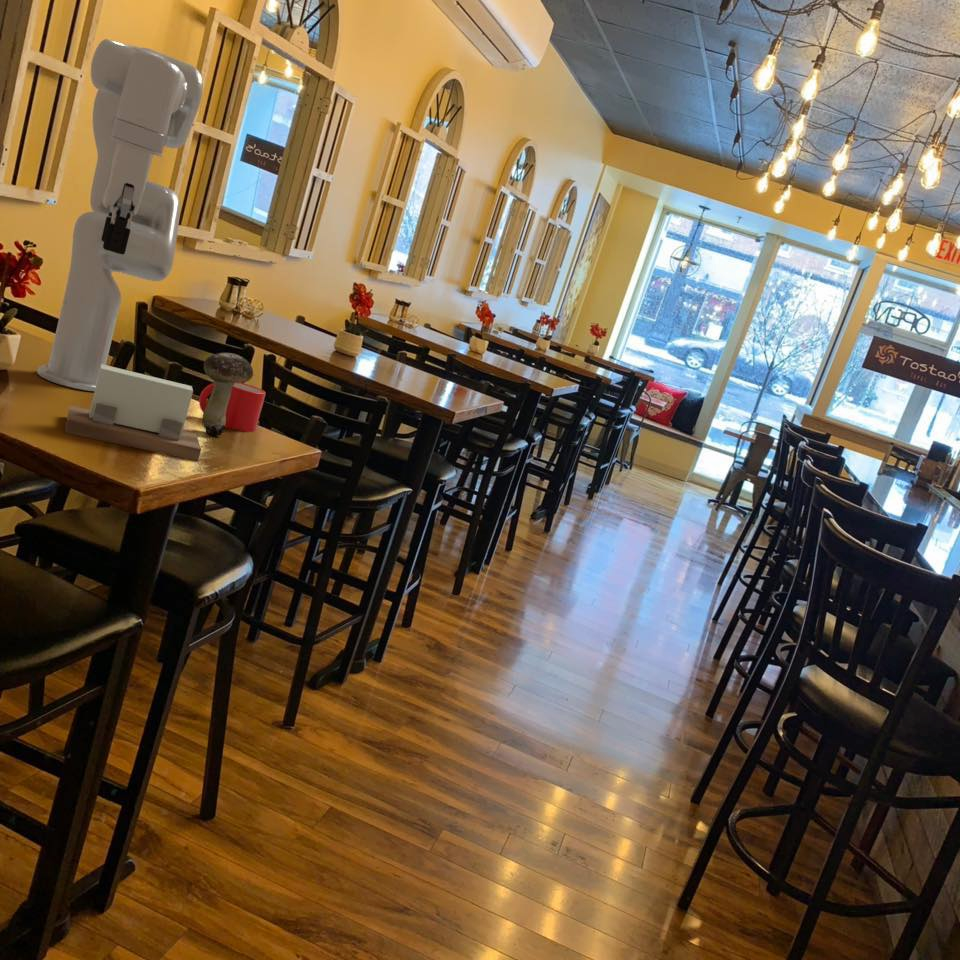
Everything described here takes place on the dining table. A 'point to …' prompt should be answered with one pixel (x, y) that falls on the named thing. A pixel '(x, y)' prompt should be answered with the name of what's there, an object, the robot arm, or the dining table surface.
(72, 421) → the board
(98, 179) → the robot arm
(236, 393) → the mug
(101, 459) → the dining table surface
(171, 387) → the pale grey rectangular block
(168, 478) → the dining table surface
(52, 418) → the dining table surface
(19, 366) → the dining table surface
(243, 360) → the mushroom
